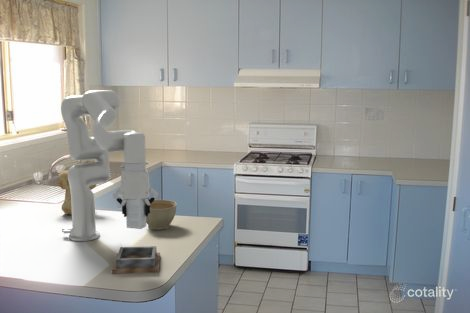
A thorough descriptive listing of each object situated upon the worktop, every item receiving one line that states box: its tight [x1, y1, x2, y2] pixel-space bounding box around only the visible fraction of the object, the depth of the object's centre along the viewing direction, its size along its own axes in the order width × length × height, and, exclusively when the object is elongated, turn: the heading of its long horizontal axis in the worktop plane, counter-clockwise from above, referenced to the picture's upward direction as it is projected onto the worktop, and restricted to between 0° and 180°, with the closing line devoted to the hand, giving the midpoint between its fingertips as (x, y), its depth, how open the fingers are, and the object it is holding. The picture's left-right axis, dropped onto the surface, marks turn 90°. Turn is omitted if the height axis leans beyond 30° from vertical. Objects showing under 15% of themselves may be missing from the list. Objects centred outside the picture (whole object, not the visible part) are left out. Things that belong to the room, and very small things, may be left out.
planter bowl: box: [146, 199, 178, 231], centre depth 231 cm, size 16×16×11 cm
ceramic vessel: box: [57, 169, 98, 216], centre depth 253 cm, size 17×20×25 cm
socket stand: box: [111, 245, 161, 275], centre depth 186 cm, size 16×16×4 cm
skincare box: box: [125, 197, 147, 230], centre depth 183 cm, size 6×4×12 cm
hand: (136, 215), depth 183 cm, fingers closed on skincare box, 7 cm apart
